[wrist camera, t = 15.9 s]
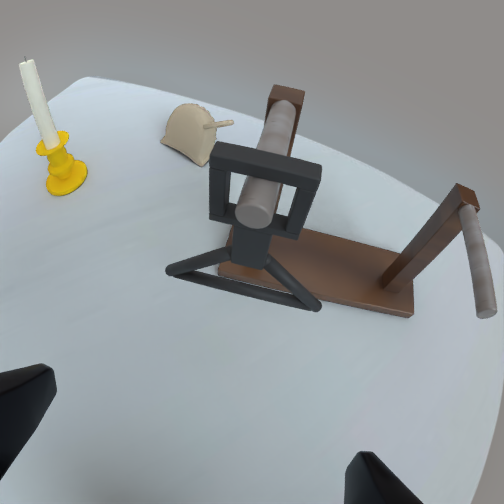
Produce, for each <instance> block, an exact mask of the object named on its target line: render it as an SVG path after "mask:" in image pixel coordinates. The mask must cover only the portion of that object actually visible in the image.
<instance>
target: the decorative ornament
mask: <svg viewBox="0 0 504 504" xmlns="http://www.w3.org/2000/svg"><path fill="white" fill-rule="evenodd" d="M233 124H234V121H233V120H226V121H220V122H214V118H213V117H212V116H211V115H210V113H209V111H207V110H206V109H205V108H204V107H200V106H199V105H198V104H192V103H191V104H190V103H189V104H182V105H180V106H178V107H177V108H176V109H175V110H174V111H173V113H172V114H171V116H170V118H169V120H168V123H167V126H166V134H165V136H164V137H163V139H162V140H161V143H163V144H166V145H168V146H170V147H172V148H174V149H176V150H178V151H180V152H182V153H183V154H185V155H186V156H188V157H189V158H190V159H191V160H193V161H194V162H195V163H196V164H197V165H199V166H201V167H202V166H203V165H204V164H205V163H206V162H207V161H208V160H209V155H210V153H211V151H212V149H213V147H214V143H215V140H216V131H217V128H218V127H224V126H229V125H233Z"/></svg>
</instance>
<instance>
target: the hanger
mask: <svg viewBox="0 0 504 504" xmlns="http://www.w3.org/2000/svg"><path fill="white" fill-rule="evenodd" d="M209 166H210V168H209V212H210V213H209V219H210V220H214V221H218V222H222V223H226V224H231V225H234V227H233V238H232V245H228V246H225V247H222V248H219V249H216V250H213V251H210V252H207V253H204V254H201V255H198V256H194V257H191V258H188V259H185V260H182V261H179V262H176V263H173V264H170V265H168V266H167V267H166V269H165V272H166V274H167V275H168V276H173V277H175V278H179V279H182V280H186V281H190V282H193V283H197V284H201V285H205V286H209V287H212V288H216V289H220V290H224V291H228V292H232V293H236V294H240V295H244V296H248V297H252V298H256V299H260V300H265V301H269V302H273V303H277V304H281V305H286V306H290V307H294V308H299V309H303V310H308V311H313V312H318V311H320V310H321V308H322V304H321V302H320V301H319V300H318V299H317V298H315V297H314V296H313V295H312V294H311V293H310V292H309V291H308V290H307V289H306V288H305V287H304V286H303V285H302V284H301V283H300V282H299V281H298V280H297V279H296V278H295V277H294V276H292V275H291V274H290V273H289V272H288V271H287V270H286V269H285V268H284V267H283V266H282V265H281V264H280V263H279V262H278V261H277V260H276V259H275V258H274V257H273V256H271V255H270V254H269V253H268V250H269V247H270V243H271V240H272V236H273V235H276V236H280V237H284V238H288V239H293V240H298V238H299V236H300V233H301V230H302V228H303V225H304V223H305V220H306V218H307V215H308V213H309V210H310V208H311V205H312V202H313V200H314V197H315V195H316V191H317V189H318V187H319V184H320V181H321V173H322V165H319V164H316V163H312V162H308V161H304V160H301V159H297V158H293V157H289V156H284V155H280V154H276V153H272V152H267V151H263V150H258V149H254V148H249V147H244V146H240V145H235V144H230V143H224V142H219V141H217V142H216V143H215V145H214V147H213V149H212V151H211V153H210V155H209ZM231 172H234V173H239V174H243V175H248V176H252V177H256V178H261V179H265V180H269V181H274V182H278V183H282V184H286V185H290V186H294V187H297V189H296V192H295V195H294V198H293V201H292V205H291V208H290V211H289V214H288V216H283V215H279V214H275V213H274V214H273V218H272V221H271V223H270V224H269V225H268V226H267V227H264V228H260V229H255V228H250V227H247V226H245V225H243V224H241V223H240V222H239V221H238V220H237V218H236V215H235V209H236V206H237V204H233V203H229V192H230V178H231ZM226 261H231V263H234V264H238V265H242V266H246V267H250V268H254V269H258V270H263V268H264V269H265V270H266V271H267V272H268V273H269V274H271V275H272V276H273V277H274V278H275V279H276V280H277V281H279V282H280V283H281V284H282V285H283V286H284V287H285V288H286V289H288V290H289V291H290V292H291V293H292V294H293V295H292V294H288V293H284V292H279V291H275V290H271V289H267V288H263V287H259V286H254V285H250V284H246V283H242V282H238V281H234V280H230V279H226V278H222V277H218V276H214V275H210V274H207V273H203V272H199V271H195V270H197V269H201V268H204V267H208V266H212V265H215V264H219V263H222V262H226Z"/></svg>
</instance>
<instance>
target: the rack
mask: <svg viewBox="0 0 504 504" xmlns="http://www.w3.org/2000/svg"><path fill="white" fill-rule="evenodd" d="M304 95H305V91H302V90H298V89H294V88H289V87H285V86H280V85H273V88H272V90H271V93H270V95H269V98H268V104H267V110H266V116H265V122H264V128H263V131H262V134H261V137H260V140H259V142H258V145H257V148H256V149H258V150H263V151H267V152H272V153H276V154H280V155H284V156H289V157H290V155H291V151H292V147H293V142H294V138H295V134H296V130H297V126H298V122H299V117H300V113H301V109H302V105H303V100H304ZM282 187H283V184H282V183H278V182H274V181H269V180H265V179H261V178H256V177H252V176H248V175H247V177H246V180H245V183H244V185H243V188H242V191H241V194H240V197H239V200H238V203H237V206H236V209H235V215H236V218H237V220H238V221H239V222H240V223H241V224H243V225H245V226H247V227H250V228H255V229H260V228H264V227H267V226H268V225H269V224H270V223H271V221H272V218H273V214H274V213H275V214H276V211H277V207H278V203H279V199H280V195H281V191H282ZM479 210H480V207H479V204H478V201H477V198H476V195H475V192H474V191H473V190H471V189H469V188H467V187H464V186H462V185H460V184H458V183H456V185H455V186H454V187H453V189H452V190H451V191H450V193H449V194H448V195H447V197H446V198H445V199H444V201H443V202H442V203H441V205H440V206H439V207H438V208H437V210H436V211H435V212H434V214H433V215H432V216H431V217H430V219H429V220H428V221H427V222H426V224H425V225H424V226H423V227H422V229H421V230H420V231H419V232H418V233H417V235H416V236H415V237H414V238H413V240H412V241H411V242H410V243H409V244H408V245H407V247H406V248H405V249H404V250H403V251H402V252H401V254H399V253H396V252H392V251H388V250H385V249H381V248H377V247H374V246H370V245H366V244H363V243H359V242H355V241H351V240H348V239H344V238H340V237H336V236H332V235H328V234H324V233H320V232H316V231H312V230H308V229H304V228H302V230H301V233H300V236H299V238H298V240H293V239H288V238H284V237H280V236H276V235H273V236H272V240H271V243H270V247H269V250H268V253H269V254H270V255H271V256H273V257H274V258H275V259H276V260H277V261H278V262H279V263H280V264H281V265H282V266H283V267H284V268H285V269H286V270H287V271H288V272H289V273H290V274H291V275H292V276H294V277H295V278H296V279H297V280H298V281H299V282H300V283H301V284H302V285H303V286H304V287H305V288H306V289H307V290H308V291H309V292H310V293H311V294H312V295H313V296H314V297H315V298H317V299H320V300H325V301H329V302H334V303H338V304H343V305H347V306H352V307H357V308H362V309H366V310H371V311H376V312H381V313H386V314H390V315H395V316H400V317H405V318H409V317H411V316H412V315H414V295H413V279H414V278H415V277H416V276H417V275H418V274H419V273H420V272H421V271H422V270H423V269H424V268H425V267H426V266H427V265H428V264H429V263H430V262H432V261H433V260H434V259H435V258H436V257H437V256H438V254H439V253H440V252H441V251H442V250H443V249H444V248H445V247H446V246H447V245H448V244H449V243H450V242H451V241H452V240H453V239H454V238H455V237H456V236H457V235H458V234H459V233H460V231H461V230H462V231H463V236H464V240H465V245H466V250H467V255H468V260H469V265H470V271H471V277H472V284H473V291H474V298H475V307H476V316H477V317H478V318H480V319H485V318H490V317H492V316H494V315H495V314H496V313H497V304H496V298H495V291H494V285H493V280H492V274H491V269H490V265H489V260H488V255H487V251H486V247H485V243H484V239H483V235H482V231H481V228H480V224H479V221H478V217H477V212H478V211H479ZM233 227H234V225H232V228H231V231H230V234H229V237H228V240H227V243H226V246H228V245H232V238H233ZM218 275H219V276H223V277H227V278H231V279H235V280H239V281H243V282H247V283H251V284H255V285H260V286H264V287H268V288H272V289H276V290H281V291H285V292H289V293H291V292H290V291H289V290H288V289H286V288H285V287H284V286H283V285H282V284H281V283H280V282H279V281H277V280H276V279H275V278H274V277H273V276H272V275H271V274H269V273H268V272H267V271H266V270H265V269H264V268H263V270H258V269H254V268H250V267H246V266H242V265H238V264H234V263H231V261H226V262H222V263H220V265H219V268H218Z"/></svg>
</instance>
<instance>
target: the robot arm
mask: <svg viewBox="0 0 504 504" xmlns="http://www.w3.org/2000/svg"><path fill="white" fill-rule="evenodd" d="M56 392H57V387H56V381H55V375H54V371H53V369H52V368H51V367H49V366H47V365H45V364H43V363H40V364H36V365H32V366H28V367H24V368H19V369H15V370H11V371H7V372H2V373H0V480H1V479H2V477H3V476H4V474H5V473H6V471H7V470H8V468H9V467H10V466H11V464H12V463H13V461H14V460H15V458H16V457H17V455H18V454H19V453H20V451H21V450H22V448H23V447H24V445H25V444H26V443H27V441H28V440H29V438H30V437H31V436H32V434H33V433H34V431H35V430H36V428H37V427H38V425H39V423H40V421H41V420H42V418H43V416H44V414H45V413H46V411H47V409H48V407H49V406H50V404H51V402H52V400H53V399H54V397H55V395H56ZM344 504H423V503H422V502H421V501H420V500H419V499H418V498H417V497H416V496H415V495H414V494H413V493H412V492H411V491H410V490H409V489H408V488H407V487H406V486H405V485H404V484H403V483H402V482H401V481H400V479H399V478H398V477H397V476H396V475H395V474H394V473H393V472H392V471H391V470H390V469H389V468H388V467H387V466H386V465H385V464H384V463H383V462H382V461H381V460H380V459H379V458H378V457H377V456H376V455H375V454H374V453H373V452H371V451H360V452H358V453H357V454H356V456H355V457H354V458H353V460H352V461H351V463H350V464H349V466H348V467H347V469H346V472H345V494H344Z"/></svg>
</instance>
